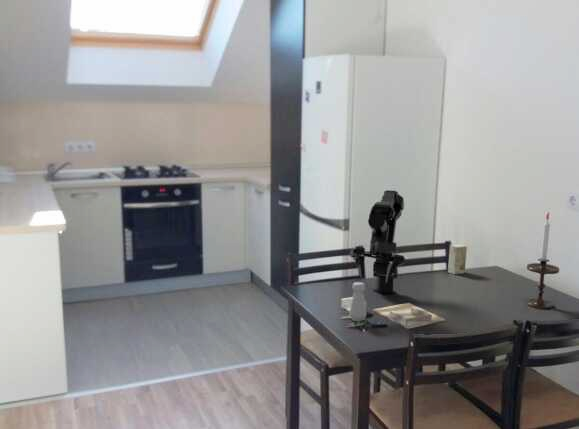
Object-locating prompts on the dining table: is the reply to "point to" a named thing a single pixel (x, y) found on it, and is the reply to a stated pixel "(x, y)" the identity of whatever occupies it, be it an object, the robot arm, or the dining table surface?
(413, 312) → the board
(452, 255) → the skincare box
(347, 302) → the end cap
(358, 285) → the salt shaker
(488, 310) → the dining table surface
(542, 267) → the candlestick
